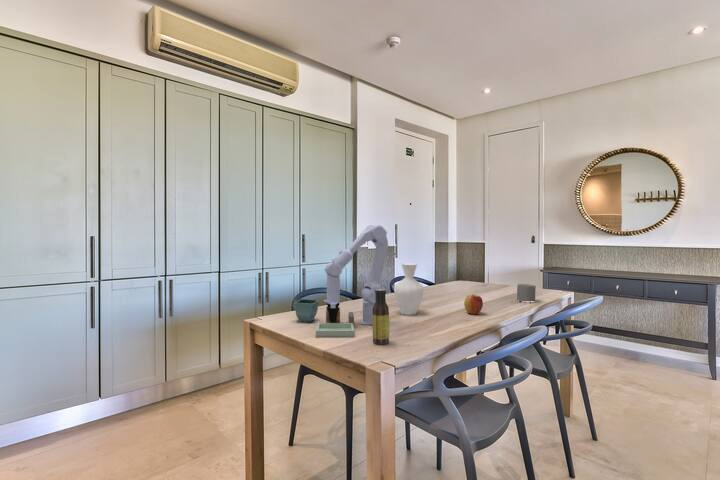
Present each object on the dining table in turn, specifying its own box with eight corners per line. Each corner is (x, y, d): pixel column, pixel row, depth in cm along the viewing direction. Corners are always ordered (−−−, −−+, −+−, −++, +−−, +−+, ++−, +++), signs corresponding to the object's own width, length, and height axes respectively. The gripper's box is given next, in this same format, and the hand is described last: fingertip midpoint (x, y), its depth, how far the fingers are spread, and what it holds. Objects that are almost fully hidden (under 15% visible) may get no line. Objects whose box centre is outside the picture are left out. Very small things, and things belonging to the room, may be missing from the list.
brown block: (339, 322, 165) (339, 309, 165) (340, 326, 159) (340, 312, 159) (326, 322, 164) (326, 309, 164) (325, 326, 158) (326, 312, 158)
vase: (403, 309, 197) (403, 262, 196) (427, 313, 189) (428, 264, 188) (389, 313, 185) (389, 264, 185) (414, 318, 177) (415, 266, 176)
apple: (473, 316, 182) (473, 296, 182) (459, 312, 190) (460, 293, 190) (486, 314, 187) (486, 295, 186) (472, 311, 195) (473, 292, 194)
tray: (352, 328, 157) (352, 322, 157) (354, 337, 145) (354, 330, 145) (317, 328, 156) (317, 323, 156) (315, 337, 144) (315, 330, 144)
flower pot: (312, 323, 165) (312, 303, 164) (293, 322, 166) (294, 302, 166) (318, 319, 173) (319, 300, 173) (300, 317, 175) (301, 299, 175)
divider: (352, 323, 167) (353, 311, 167) (353, 328, 158) (354, 316, 158) (348, 323, 167) (348, 311, 166) (349, 328, 158) (349, 316, 158)
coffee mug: (528, 304, 216) (528, 286, 215) (513, 301, 224) (513, 284, 224) (542, 301, 223) (542, 285, 222) (527, 299, 231) (527, 283, 231)
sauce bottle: (392, 341, 140) (392, 289, 139) (383, 346, 134) (384, 291, 134) (377, 338, 143) (378, 287, 143) (368, 342, 138) (369, 289, 137)
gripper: (324, 287, 168) (324, 317, 169) (323, 293, 154) (323, 325, 154) (340, 287, 169) (339, 317, 169) (340, 293, 154) (340, 325, 155)
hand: (333, 321), depth 162 cm, fingers closed on brown block, 6 cm apart
